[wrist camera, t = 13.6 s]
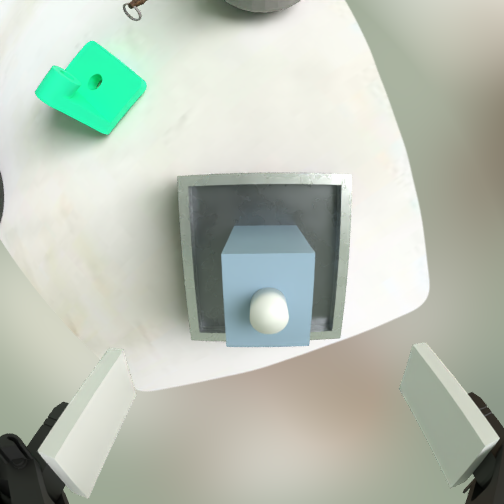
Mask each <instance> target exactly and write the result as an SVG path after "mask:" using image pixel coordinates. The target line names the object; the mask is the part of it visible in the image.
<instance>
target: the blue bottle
mask: <svg viewBox="0 0 504 504" xmlns="http://www.w3.org/2000/svg"><path fill="white" fill-rule="evenodd" d="M221 260H222V280H223V298H224V315H225V331H226V345H227V347H287V346H309V341H310V330H311V317H312V303H313V288H314V270H315V252H314V250H313V249H312V247H311V246H310V244H309V243H308V241H307V240H306V238H305V237H304V235H303V234H302V233H301V231H300V230H299V228H298V227H297V225H256V226H234V227H233V230H232V232H231V234H230V236H229V238H228V240H227V242H226V245H225V247H224V249H223V251H222V253H221Z"/></svg>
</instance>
